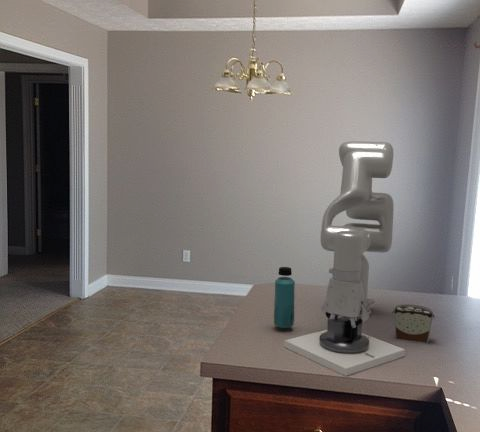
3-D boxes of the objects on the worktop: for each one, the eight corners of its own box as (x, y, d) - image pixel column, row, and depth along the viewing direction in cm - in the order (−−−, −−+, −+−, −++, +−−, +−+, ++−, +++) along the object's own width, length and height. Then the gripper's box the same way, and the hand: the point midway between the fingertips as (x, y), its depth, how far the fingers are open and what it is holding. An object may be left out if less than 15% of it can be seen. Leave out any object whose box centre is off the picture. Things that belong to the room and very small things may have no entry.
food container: (433, 337, 175) (435, 306, 174) (432, 344, 169) (435, 312, 168) (392, 332, 179) (393, 301, 178) (390, 338, 173) (392, 307, 172)
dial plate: (341, 331, 178) (342, 325, 178) (404, 356, 159) (405, 349, 159) (284, 347, 164) (284, 340, 164) (345, 376, 145) (346, 368, 145)
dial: (339, 356, 152) (341, 329, 151) (309, 340, 164) (310, 314, 163) (379, 348, 159) (381, 322, 158) (347, 333, 171) (348, 308, 170)
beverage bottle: (292, 333, 176) (295, 270, 173) (271, 331, 177) (273, 269, 174) (294, 326, 182) (297, 266, 179) (274, 324, 184) (276, 264, 181)
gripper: (313, 272, 160) (310, 334, 163) (369, 282, 151) (366, 348, 153) (325, 268, 167) (322, 327, 169) (380, 277, 157) (376, 340, 159)
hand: (343, 336), depth 161 cm, fingers closed on dial, 4 cm apart
